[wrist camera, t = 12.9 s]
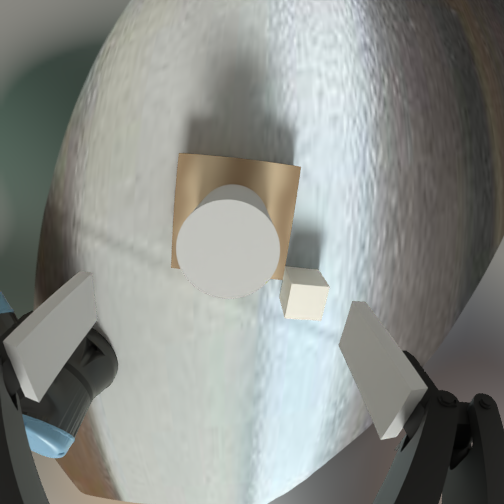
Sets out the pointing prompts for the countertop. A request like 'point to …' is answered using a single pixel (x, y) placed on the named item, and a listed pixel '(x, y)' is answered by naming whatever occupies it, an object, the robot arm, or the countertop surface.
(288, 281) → the cream block
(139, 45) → the countertop surface
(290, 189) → the oak block
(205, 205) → the grey cylinder
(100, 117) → the countertop surface
